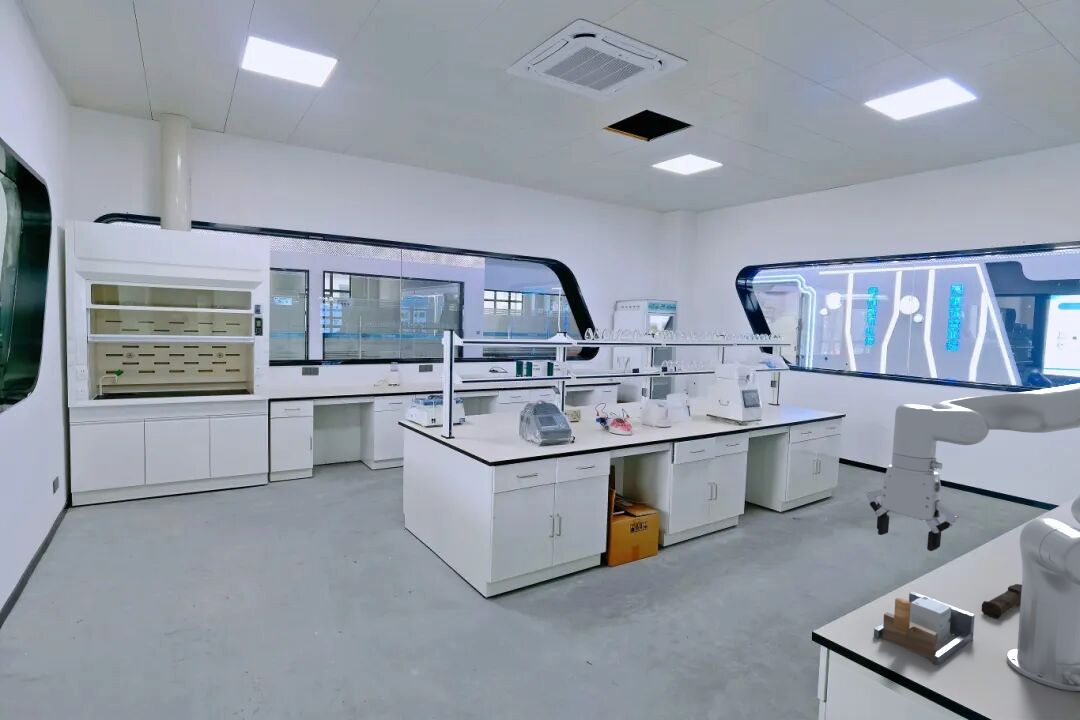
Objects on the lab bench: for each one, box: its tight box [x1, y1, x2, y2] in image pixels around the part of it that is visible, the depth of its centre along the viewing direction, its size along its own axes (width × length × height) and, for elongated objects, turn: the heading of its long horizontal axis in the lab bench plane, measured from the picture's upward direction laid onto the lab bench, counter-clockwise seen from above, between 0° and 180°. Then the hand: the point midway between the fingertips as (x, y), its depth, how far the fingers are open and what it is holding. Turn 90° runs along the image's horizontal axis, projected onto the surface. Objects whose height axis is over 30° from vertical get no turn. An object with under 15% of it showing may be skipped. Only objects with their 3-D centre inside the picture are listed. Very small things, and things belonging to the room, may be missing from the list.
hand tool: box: [981, 583, 1022, 620], centre depth 139 cm, size 19×4×5 cm, turn 118°
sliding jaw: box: [882, 597, 938, 661], centre depth 119 cm, size 6×10×12 cm, turn 33°
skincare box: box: [910, 596, 951, 645], centre depth 126 cm, size 6×6×7 cm
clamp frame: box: [873, 591, 976, 667], centre depth 125 cm, size 18×13×6 cm
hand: (906, 541), depth 118 cm, fingers open, 9 cm apart
